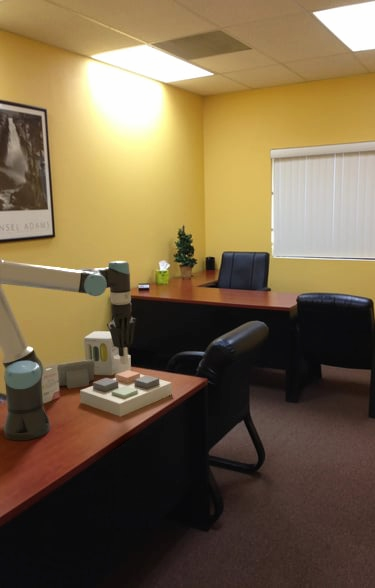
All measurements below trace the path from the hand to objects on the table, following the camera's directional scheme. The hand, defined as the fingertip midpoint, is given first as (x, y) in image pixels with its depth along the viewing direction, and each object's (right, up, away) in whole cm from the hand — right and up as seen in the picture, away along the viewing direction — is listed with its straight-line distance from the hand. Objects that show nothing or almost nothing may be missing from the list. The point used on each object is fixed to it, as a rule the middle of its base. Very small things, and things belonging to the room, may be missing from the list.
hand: (124, 363), depth 197 cm
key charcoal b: (+8, -12, +10) cm, 18 cm away
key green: (0, -15, +1) cm, 15 cm away
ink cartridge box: (-32, -16, +11) cm, 37 cm away
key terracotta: (0, -11, +17) cm, 21 cm away
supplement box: (-15, -10, +46) cm, 49 cm away
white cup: (-5, -11, +34) cm, 37 cm away
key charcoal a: (-8, -13, +8) cm, 17 cm away
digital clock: (-24, -13, +28) cm, 39 cm away
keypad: (0, -15, +10) cm, 18 cm away
